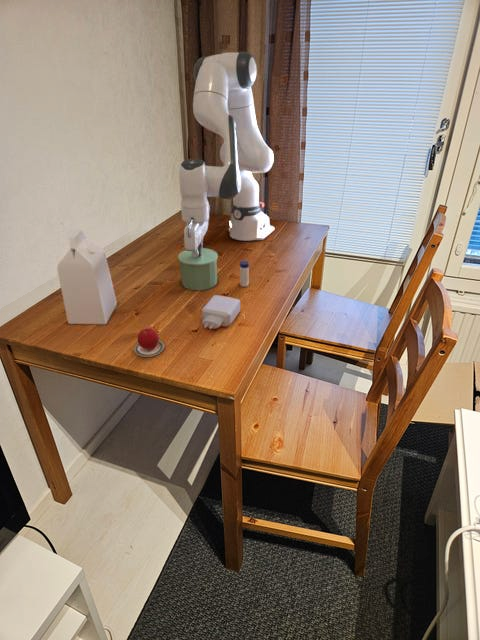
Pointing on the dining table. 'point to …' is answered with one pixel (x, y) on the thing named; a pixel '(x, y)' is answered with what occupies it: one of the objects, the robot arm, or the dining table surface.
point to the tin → (199, 276)
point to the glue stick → (244, 273)
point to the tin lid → (203, 258)
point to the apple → (148, 343)
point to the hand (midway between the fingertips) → (197, 252)
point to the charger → (220, 311)
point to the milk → (86, 283)
